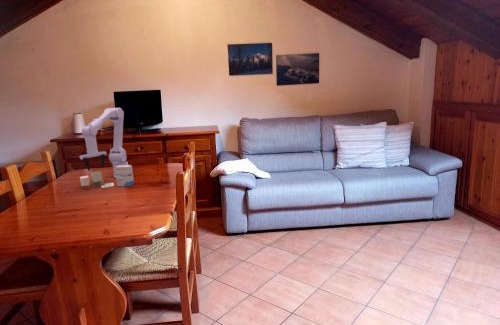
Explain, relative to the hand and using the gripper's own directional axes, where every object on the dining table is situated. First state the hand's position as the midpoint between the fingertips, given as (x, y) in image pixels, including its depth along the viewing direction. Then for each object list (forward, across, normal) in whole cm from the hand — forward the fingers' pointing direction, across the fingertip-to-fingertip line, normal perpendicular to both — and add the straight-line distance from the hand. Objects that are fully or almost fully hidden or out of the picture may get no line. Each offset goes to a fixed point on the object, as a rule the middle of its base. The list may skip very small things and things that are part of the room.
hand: (95, 168), depth 203 cm
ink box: (+11, -11, +13) cm, 20 cm away
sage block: (+7, 0, 0) cm, 7 cm away
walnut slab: (+10, 0, 0) cm, 10 cm away
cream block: (+10, +5, -8) cm, 14 cm away
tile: (+10, -3, +5) cm, 12 cm away
